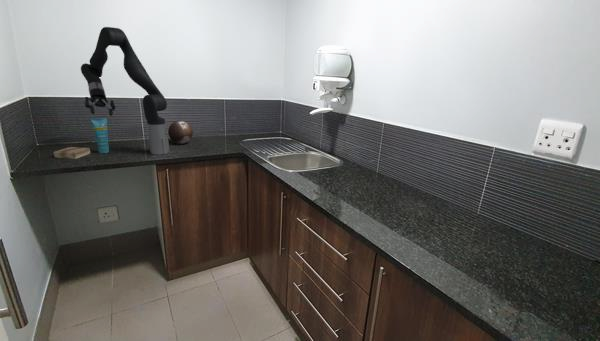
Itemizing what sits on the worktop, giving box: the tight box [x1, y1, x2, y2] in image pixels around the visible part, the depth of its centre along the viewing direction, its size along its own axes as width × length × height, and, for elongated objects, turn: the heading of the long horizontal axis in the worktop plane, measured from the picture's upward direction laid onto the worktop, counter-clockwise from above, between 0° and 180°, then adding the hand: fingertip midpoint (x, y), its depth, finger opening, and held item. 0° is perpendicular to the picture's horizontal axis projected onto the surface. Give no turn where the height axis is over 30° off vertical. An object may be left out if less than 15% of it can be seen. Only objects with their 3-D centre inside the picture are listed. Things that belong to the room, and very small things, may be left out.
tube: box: [90, 117, 110, 154], centre depth 161 cm, size 7×5×19 cm, turn 134°
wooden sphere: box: [167, 120, 194, 145], centre depth 191 cm, size 15×15×15 cm
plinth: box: [53, 146, 91, 160], centre depth 155 cm, size 11×11×3 cm
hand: (102, 114), depth 165 cm, fingers open, 8 cm apart
